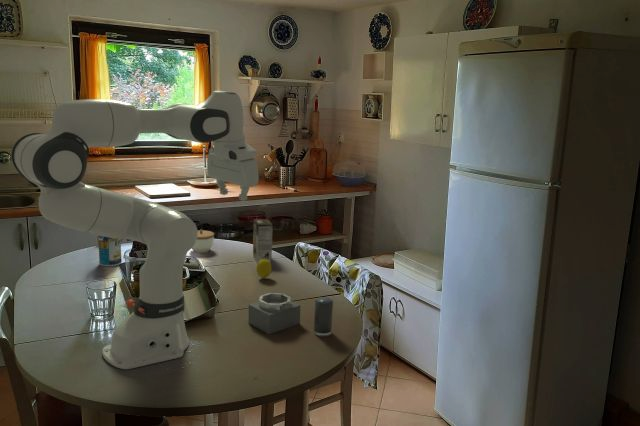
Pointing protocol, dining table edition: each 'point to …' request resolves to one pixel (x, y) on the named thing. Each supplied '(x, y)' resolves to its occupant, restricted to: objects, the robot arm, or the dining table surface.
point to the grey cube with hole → (274, 313)
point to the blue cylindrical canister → (109, 251)
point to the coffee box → (262, 239)
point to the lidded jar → (203, 241)
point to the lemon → (264, 268)
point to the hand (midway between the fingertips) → (233, 197)
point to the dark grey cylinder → (323, 317)
